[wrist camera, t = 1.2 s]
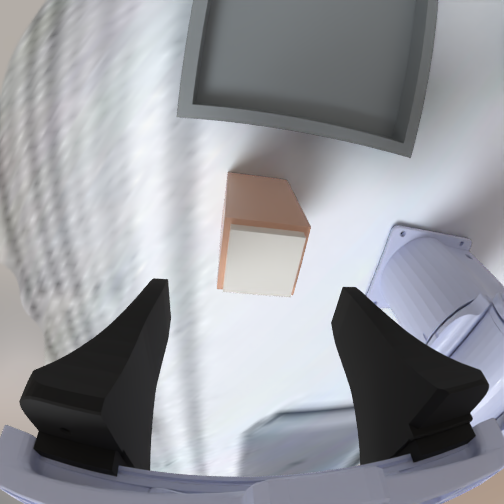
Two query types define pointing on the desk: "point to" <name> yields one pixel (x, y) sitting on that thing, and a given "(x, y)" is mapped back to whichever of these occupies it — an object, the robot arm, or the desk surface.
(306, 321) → the desk surface
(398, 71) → the tray
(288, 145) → the desk surface
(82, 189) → the desk surface
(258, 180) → the tan rectangular block
